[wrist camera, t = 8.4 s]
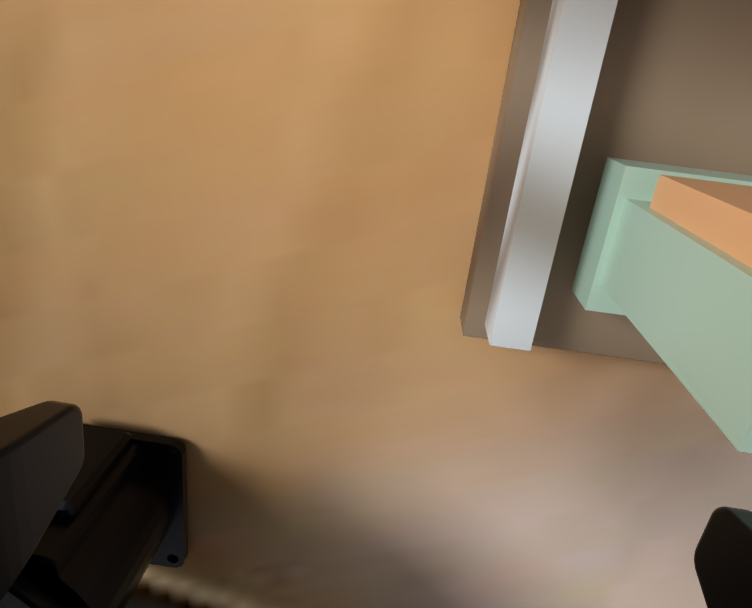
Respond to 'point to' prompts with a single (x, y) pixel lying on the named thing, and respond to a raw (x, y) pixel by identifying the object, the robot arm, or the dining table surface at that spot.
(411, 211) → the dining table surface
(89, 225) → the dining table surface
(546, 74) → the rail board
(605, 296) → the stepped sage green block
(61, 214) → the dining table surface
